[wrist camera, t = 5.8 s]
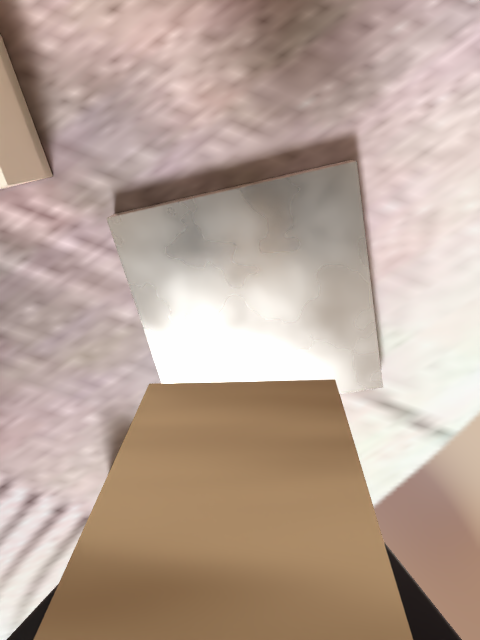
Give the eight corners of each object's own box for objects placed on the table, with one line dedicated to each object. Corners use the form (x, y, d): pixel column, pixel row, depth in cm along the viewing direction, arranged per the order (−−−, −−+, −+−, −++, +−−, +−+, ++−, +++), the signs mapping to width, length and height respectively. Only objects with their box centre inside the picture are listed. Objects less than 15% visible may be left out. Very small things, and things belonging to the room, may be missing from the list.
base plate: (377, 376, 21) (382, 387, 20) (178, 409, 22) (174, 421, 21) (351, 159, 17) (356, 161, 16) (114, 214, 19) (106, 218, 18)
